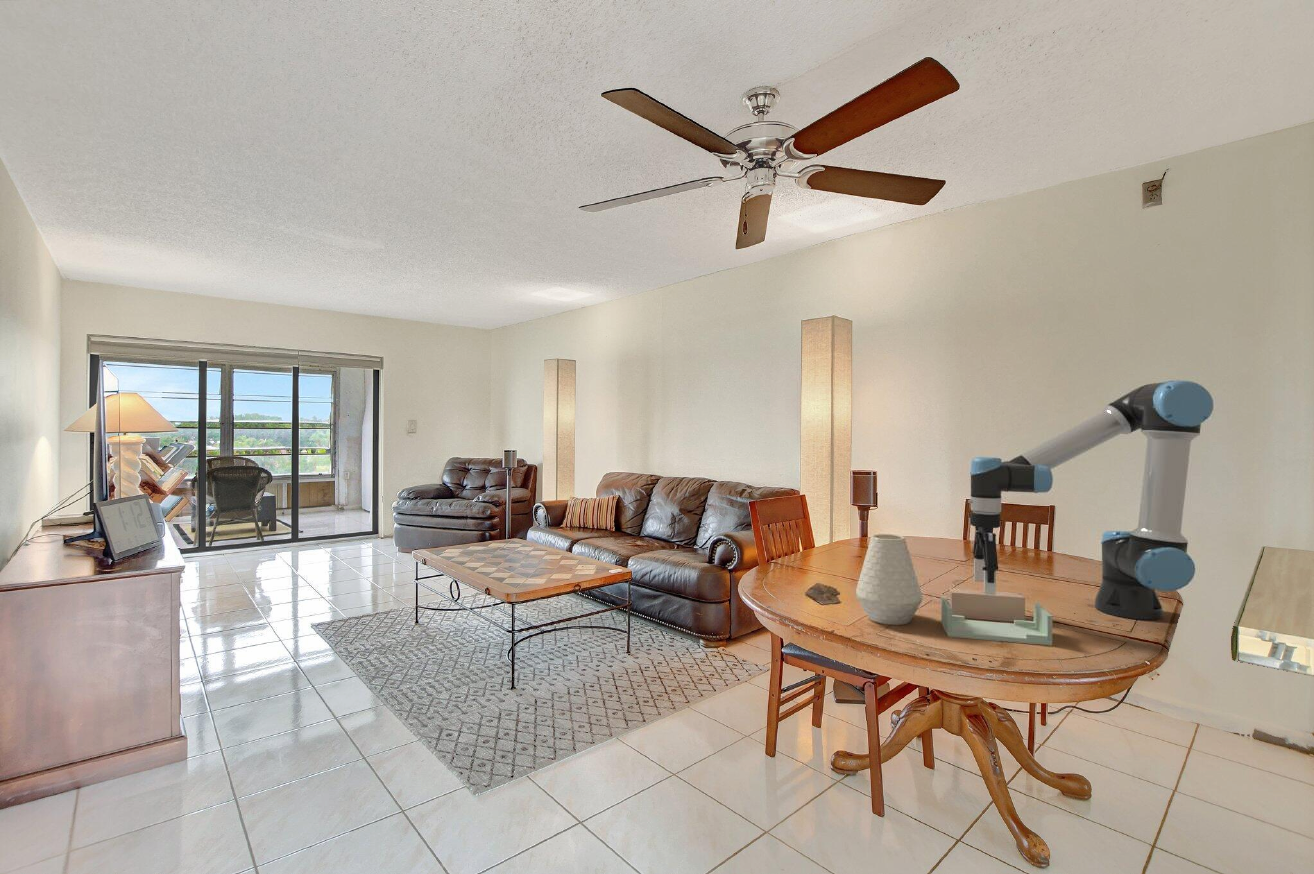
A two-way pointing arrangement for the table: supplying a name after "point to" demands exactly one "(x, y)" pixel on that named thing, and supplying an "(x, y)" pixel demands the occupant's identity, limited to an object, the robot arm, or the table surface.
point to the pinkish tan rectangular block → (987, 605)
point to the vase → (888, 581)
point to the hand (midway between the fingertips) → (984, 587)
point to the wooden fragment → (823, 594)
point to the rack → (999, 627)
